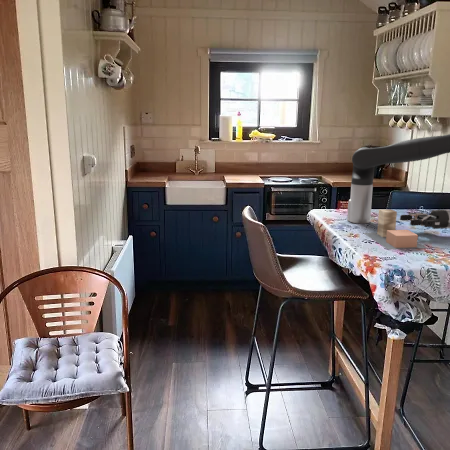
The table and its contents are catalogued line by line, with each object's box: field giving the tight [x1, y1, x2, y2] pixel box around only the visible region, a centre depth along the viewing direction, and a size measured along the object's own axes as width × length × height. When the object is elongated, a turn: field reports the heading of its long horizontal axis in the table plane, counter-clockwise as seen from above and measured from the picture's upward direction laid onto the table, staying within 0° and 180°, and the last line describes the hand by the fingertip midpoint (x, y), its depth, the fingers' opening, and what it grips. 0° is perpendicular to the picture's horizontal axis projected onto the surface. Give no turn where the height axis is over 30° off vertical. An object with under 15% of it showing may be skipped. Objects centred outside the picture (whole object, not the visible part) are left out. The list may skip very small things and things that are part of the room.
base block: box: [386, 229, 419, 248], centre depth 169 cm, size 8×8×4 cm
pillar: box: [376, 208, 398, 237], centre depth 181 cm, size 5×5×10 cm
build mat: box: [363, 232, 428, 251], centre depth 175 cm, size 15×23×1 cm, turn 5°
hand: (405, 220), depth 181 cm, fingers open, 8 cm apart
